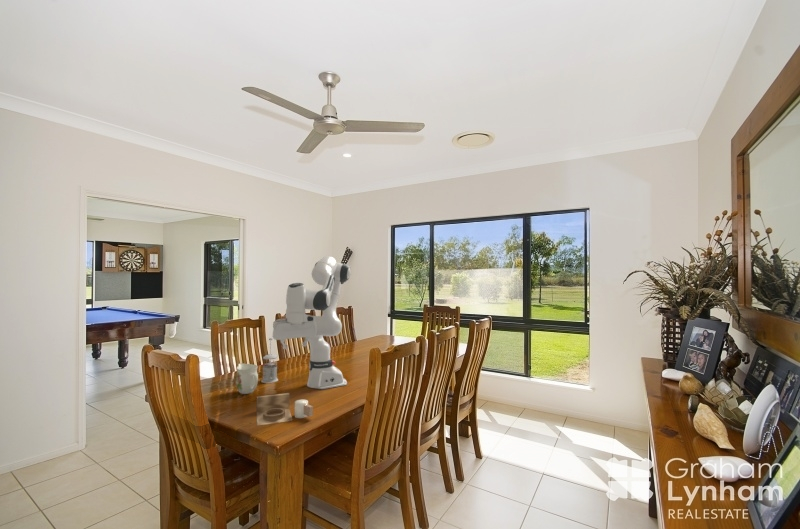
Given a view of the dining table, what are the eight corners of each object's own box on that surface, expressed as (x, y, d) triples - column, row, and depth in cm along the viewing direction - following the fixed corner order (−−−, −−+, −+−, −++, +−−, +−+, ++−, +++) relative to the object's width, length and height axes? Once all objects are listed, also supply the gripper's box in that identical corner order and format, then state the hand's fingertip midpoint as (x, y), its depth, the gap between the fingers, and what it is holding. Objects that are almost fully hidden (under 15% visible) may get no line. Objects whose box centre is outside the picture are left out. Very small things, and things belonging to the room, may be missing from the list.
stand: (288, 410, 164) (289, 392, 165) (292, 424, 150) (292, 404, 150) (256, 414, 159) (256, 396, 159) (256, 429, 144) (257, 409, 144)
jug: (291, 419, 155) (292, 402, 155) (302, 415, 159) (302, 398, 159) (305, 425, 148) (306, 407, 149) (316, 421, 153) (316, 403, 153)
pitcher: (246, 399, 178) (246, 371, 178) (229, 391, 189) (229, 365, 190) (266, 393, 186) (266, 367, 187) (248, 386, 198) (249, 361, 198)
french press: (276, 377, 216) (277, 336, 216) (281, 382, 206) (282, 339, 207) (259, 379, 210) (260, 337, 211) (263, 384, 201) (264, 340, 201)
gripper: (275, 320, 156) (274, 351, 156) (318, 317, 169) (317, 346, 169) (270, 318, 161) (270, 349, 161) (312, 315, 174) (312, 344, 174)
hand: (294, 347), depth 165 cm, fingers open, 8 cm apart
